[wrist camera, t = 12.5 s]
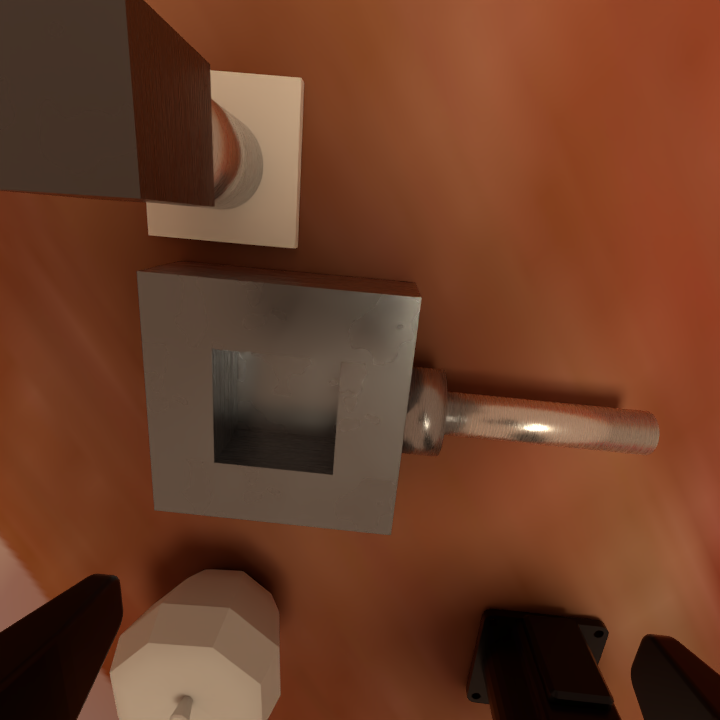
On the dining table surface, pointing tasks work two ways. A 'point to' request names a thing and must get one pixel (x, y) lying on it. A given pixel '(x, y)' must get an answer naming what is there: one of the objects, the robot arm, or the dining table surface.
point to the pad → (280, 167)
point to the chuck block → (315, 397)
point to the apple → (201, 653)
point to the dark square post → (115, 109)
